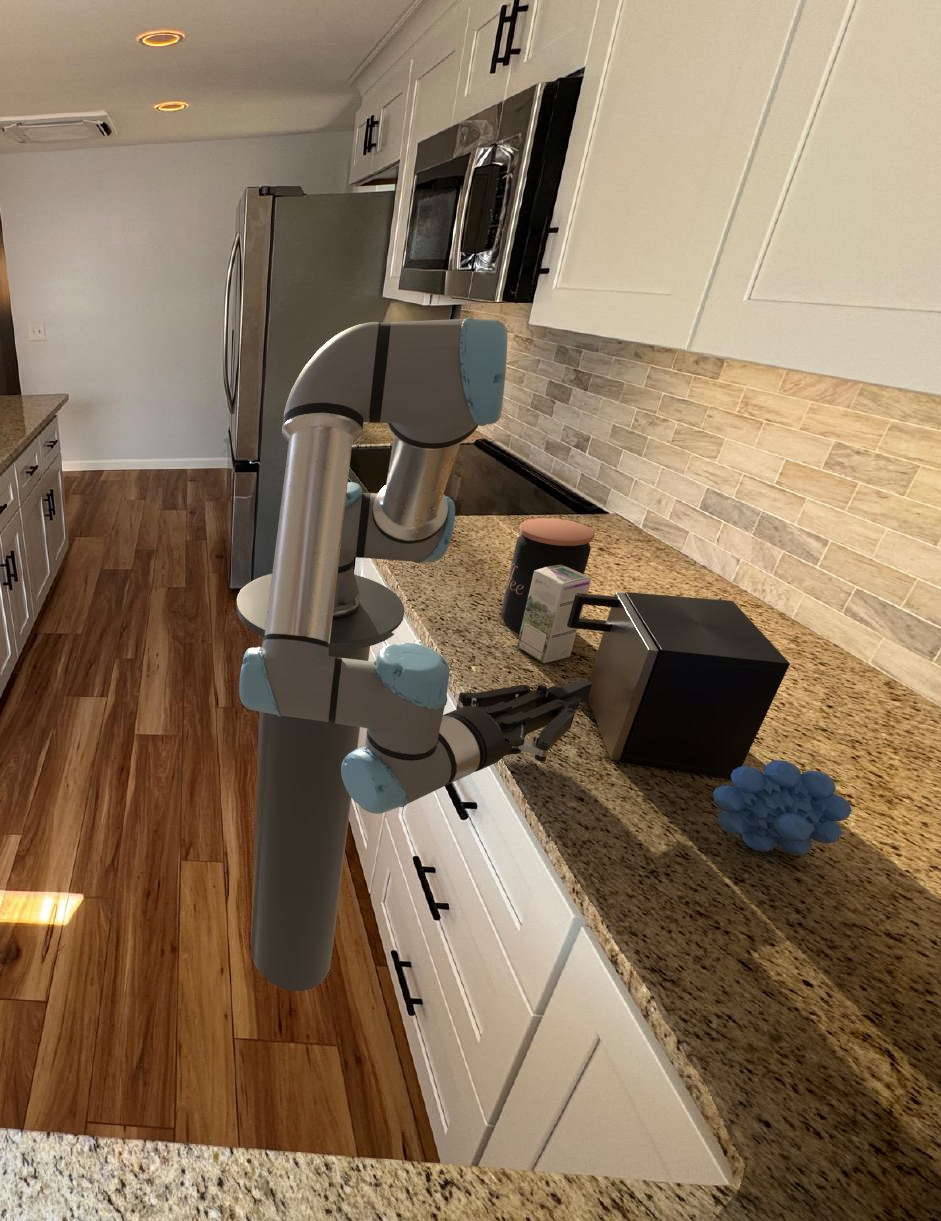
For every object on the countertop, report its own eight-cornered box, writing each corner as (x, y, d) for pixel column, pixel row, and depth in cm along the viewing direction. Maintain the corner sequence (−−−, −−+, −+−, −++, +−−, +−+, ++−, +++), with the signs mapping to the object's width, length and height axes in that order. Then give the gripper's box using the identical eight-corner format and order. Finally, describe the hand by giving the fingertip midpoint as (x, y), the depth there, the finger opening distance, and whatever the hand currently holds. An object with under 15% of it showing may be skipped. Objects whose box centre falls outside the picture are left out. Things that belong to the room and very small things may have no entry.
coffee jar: (504, 605, 125) (525, 514, 117) (571, 618, 120) (597, 523, 111) (494, 629, 118) (515, 534, 110) (564, 644, 112) (592, 545, 104)
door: (565, 752, 89) (598, 644, 81) (545, 686, 102) (572, 588, 94) (619, 761, 87) (658, 650, 79) (592, 693, 100) (624, 592, 92)
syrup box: (571, 657, 109) (594, 576, 102) (542, 664, 107) (563, 583, 101) (542, 640, 114) (563, 562, 107) (514, 647, 112) (533, 569, 106)
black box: (621, 762, 87) (661, 649, 79) (592, 693, 100) (625, 591, 92) (736, 780, 83) (790, 663, 75) (690, 706, 96) (733, 600, 88)
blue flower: (710, 868, 72) (751, 783, 66) (685, 823, 77) (721, 740, 72) (848, 892, 68) (904, 803, 62) (811, 842, 74) (860, 757, 68)
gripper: (411, 739, 89) (533, 688, 97) (497, 800, 78) (626, 737, 86) (419, 692, 85) (545, 643, 94) (510, 749, 75) (643, 689, 83)
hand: (584, 689), depth 90 cm, fingers closed
